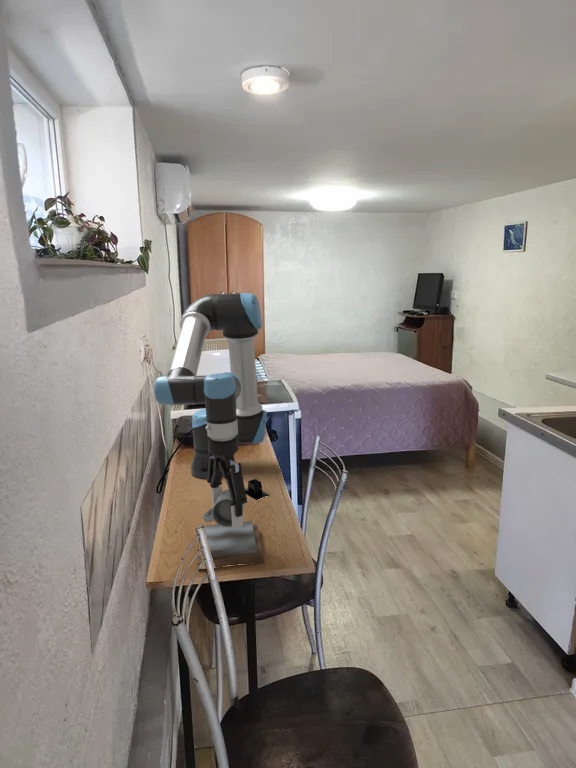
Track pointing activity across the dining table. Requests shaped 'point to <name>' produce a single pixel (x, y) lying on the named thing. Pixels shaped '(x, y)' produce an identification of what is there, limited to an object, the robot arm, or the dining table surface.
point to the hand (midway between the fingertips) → (227, 518)
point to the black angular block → (255, 489)
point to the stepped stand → (234, 544)
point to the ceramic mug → (221, 510)
